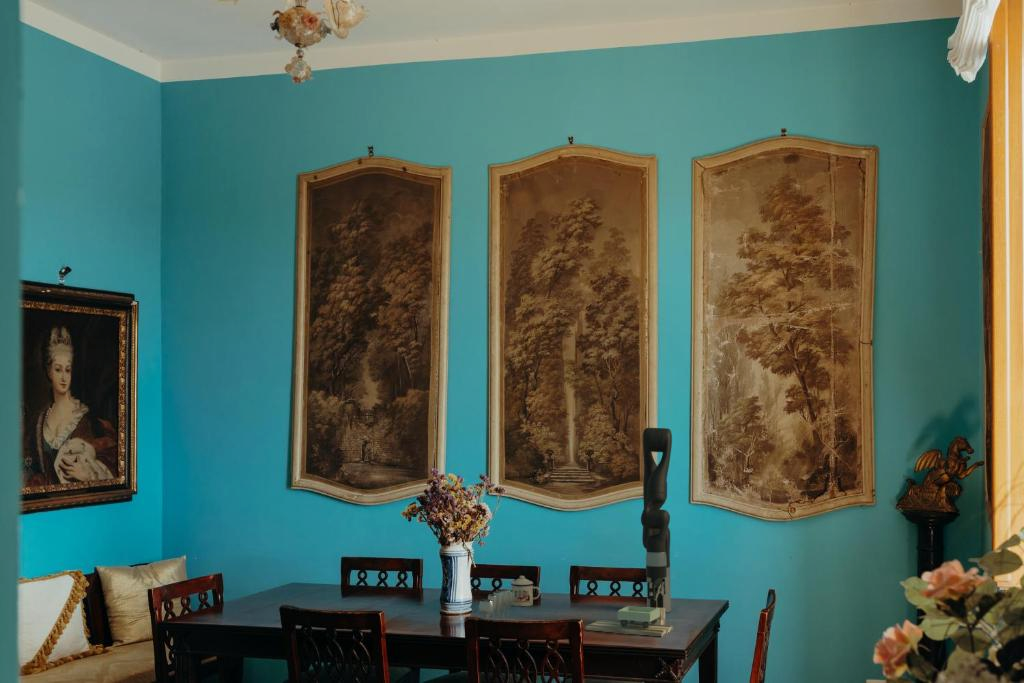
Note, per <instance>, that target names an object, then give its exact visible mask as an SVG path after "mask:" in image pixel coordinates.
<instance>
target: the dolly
mask: <svg viewBox="0 0 1024 683" xmlns="http://www.w3.org/2000/svg"><path fill="white" fill-rule="evenodd" d="M658 617H660V608H650V607H647V606H637V605H636V606H633V605H627V606H624V607H622V608H620V609H619V610H617V620H618V621H619V620H620V624H621V626H623V627H625V626H627V624H628V622H632V623H635V622H641V623H642V627H643V628H648V627H649V622H651V623H652V624H655V623H656V622H657V618H658Z"/></svg>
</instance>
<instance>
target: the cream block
mask: <svg viewBox="0 0 1024 683" xmlns="http://www.w3.org/2000/svg"><path fill="white" fill-rule="evenodd" d="M649 624H652V623H651V622H649ZM655 624H657V625H666V613H665V608H660V617H658V618H657V622H656V623H655Z"/></svg>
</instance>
